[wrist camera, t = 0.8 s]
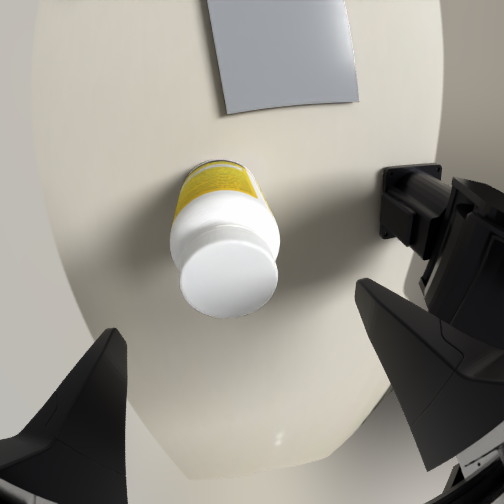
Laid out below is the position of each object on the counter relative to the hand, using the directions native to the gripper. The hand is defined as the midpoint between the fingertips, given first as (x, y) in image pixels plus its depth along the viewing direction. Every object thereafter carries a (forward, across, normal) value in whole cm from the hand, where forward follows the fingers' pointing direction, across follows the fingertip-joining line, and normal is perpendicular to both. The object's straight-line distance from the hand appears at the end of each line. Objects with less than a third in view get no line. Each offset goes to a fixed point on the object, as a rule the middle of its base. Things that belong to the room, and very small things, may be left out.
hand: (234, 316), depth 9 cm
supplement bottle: (+12, 0, 0) cm, 12 cm away
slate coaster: (+12, -6, -10) cm, 16 cm away
